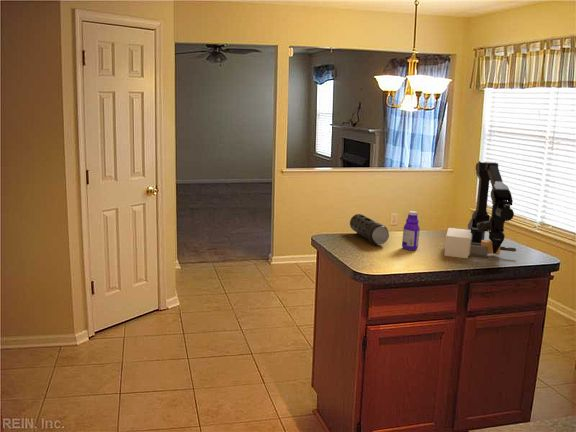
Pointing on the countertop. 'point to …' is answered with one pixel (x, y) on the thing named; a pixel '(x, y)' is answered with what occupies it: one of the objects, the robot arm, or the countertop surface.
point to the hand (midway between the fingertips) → (494, 250)
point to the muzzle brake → (369, 229)
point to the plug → (490, 248)
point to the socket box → (462, 244)
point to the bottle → (411, 232)
